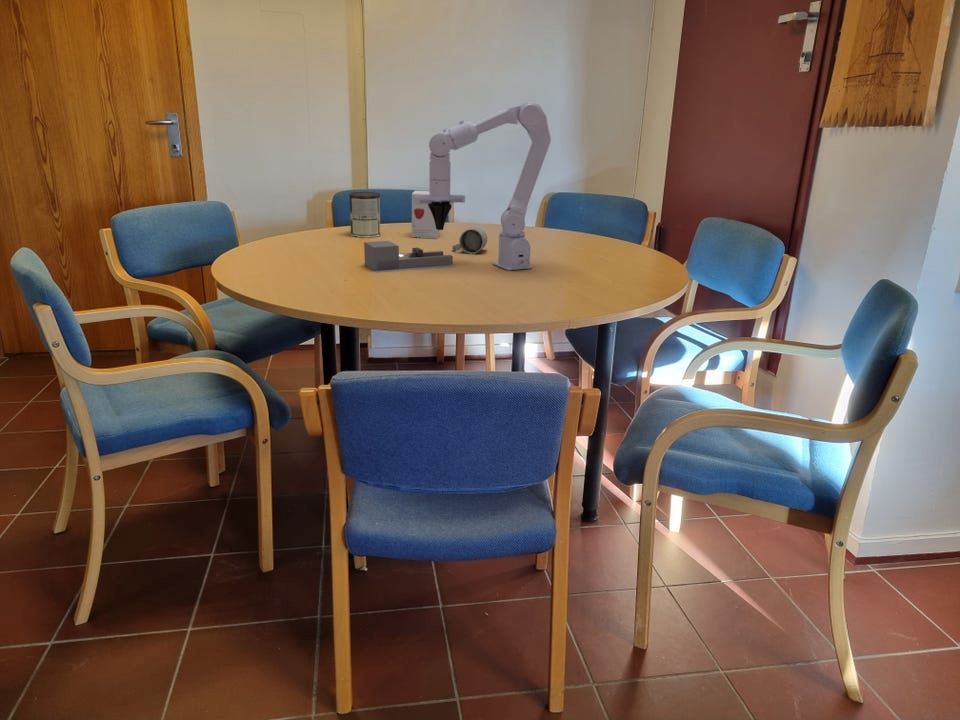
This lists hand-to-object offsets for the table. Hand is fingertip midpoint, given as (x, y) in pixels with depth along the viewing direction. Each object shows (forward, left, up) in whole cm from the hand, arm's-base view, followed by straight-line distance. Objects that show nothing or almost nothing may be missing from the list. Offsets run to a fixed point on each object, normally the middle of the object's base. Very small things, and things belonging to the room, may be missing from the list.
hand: (439, 229), depth 195 cm
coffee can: (+52, +5, -10) cm, 53 cm away
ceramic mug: (+14, -17, -10) cm, 24 cm away
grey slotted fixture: (0, +8, -10) cm, 13 cm away
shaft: (0, +11, -9) cm, 14 cm away
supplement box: (+44, -14, -10) cm, 47 cm away
